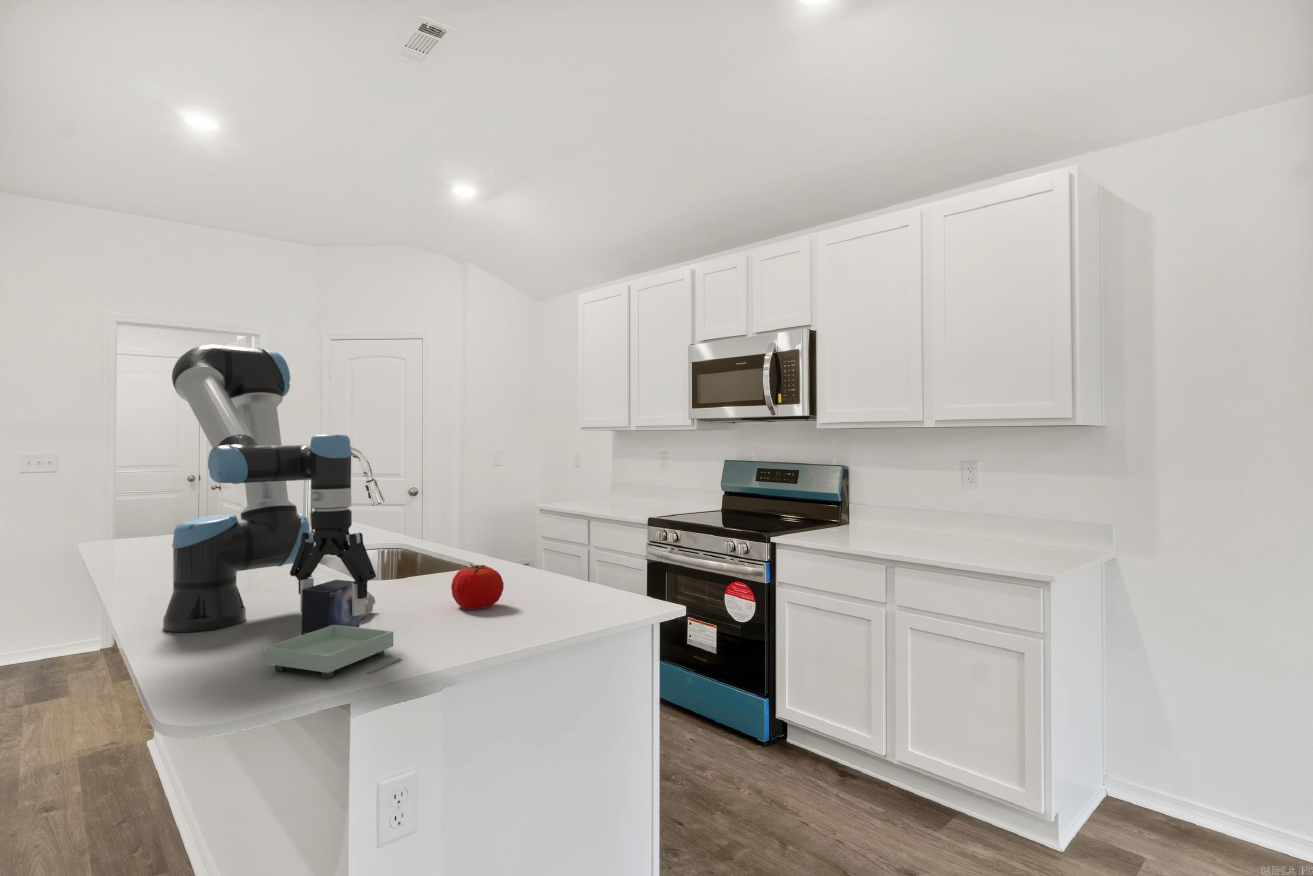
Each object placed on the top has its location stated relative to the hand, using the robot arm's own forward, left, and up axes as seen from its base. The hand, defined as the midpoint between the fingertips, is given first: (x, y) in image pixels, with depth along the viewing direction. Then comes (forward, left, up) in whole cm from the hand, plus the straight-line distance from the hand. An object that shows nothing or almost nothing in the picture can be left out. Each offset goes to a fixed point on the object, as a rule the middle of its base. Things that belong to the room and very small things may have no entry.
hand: (332, 612), depth 140 cm
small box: (0, 0, -5) cm, 5 cm away
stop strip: (+24, -12, -5) cm, 27 cm away
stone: (-7, +12, -5) cm, 15 cm away
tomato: (+14, +30, -5) cm, 34 cm away
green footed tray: (+14, -14, -5) cm, 20 cm away
